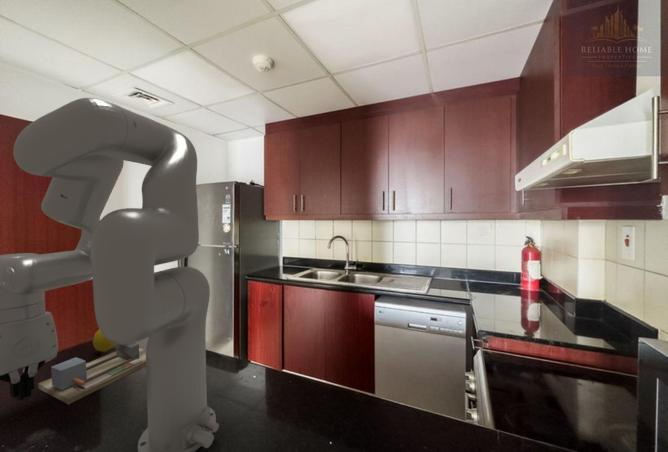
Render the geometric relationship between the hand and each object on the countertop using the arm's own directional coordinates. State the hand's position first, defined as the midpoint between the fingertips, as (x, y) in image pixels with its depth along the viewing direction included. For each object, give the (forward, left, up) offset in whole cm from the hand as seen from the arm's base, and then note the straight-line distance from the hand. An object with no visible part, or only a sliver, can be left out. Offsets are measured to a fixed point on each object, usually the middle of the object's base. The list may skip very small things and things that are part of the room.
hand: (22, 396), depth 55 cm
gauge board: (0, -15, -3) cm, 15 cm away
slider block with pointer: (-2, -8, -1) cm, 8 cm away
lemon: (+12, -21, -3) cm, 24 cm away
